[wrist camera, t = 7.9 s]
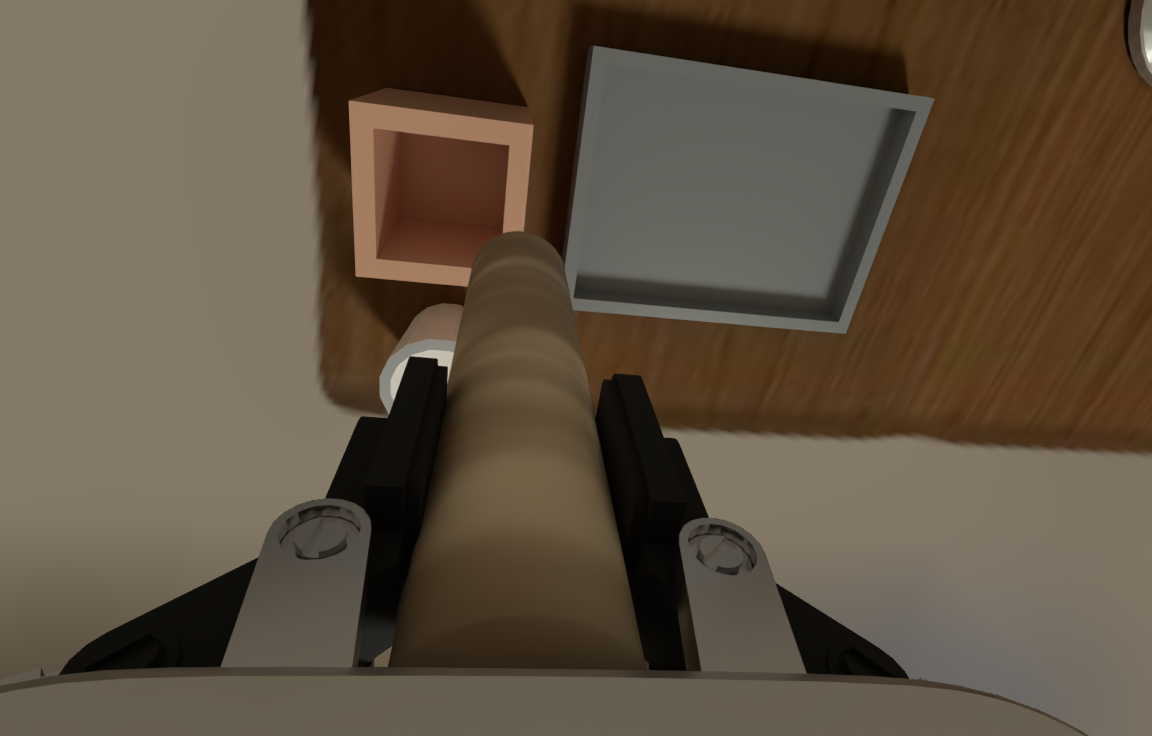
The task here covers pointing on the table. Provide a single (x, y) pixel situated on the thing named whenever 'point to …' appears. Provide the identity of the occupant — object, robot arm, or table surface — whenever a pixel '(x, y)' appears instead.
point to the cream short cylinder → (422, 345)
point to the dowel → (518, 491)
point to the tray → (730, 191)
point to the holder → (434, 182)
